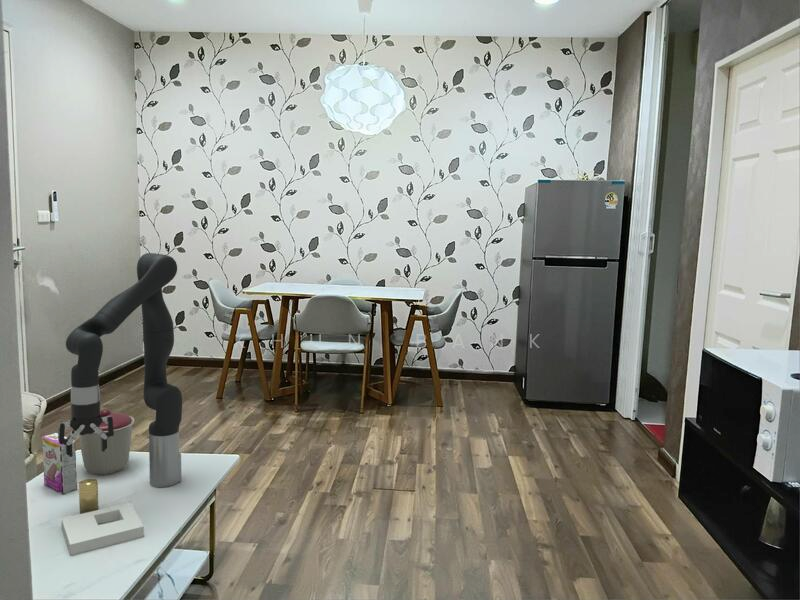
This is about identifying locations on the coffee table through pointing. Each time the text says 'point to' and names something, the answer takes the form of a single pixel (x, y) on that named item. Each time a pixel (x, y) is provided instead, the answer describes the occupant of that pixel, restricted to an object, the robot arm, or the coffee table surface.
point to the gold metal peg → (88, 495)
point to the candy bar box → (58, 465)
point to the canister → (108, 445)
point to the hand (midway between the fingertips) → (86, 453)
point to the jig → (101, 528)
